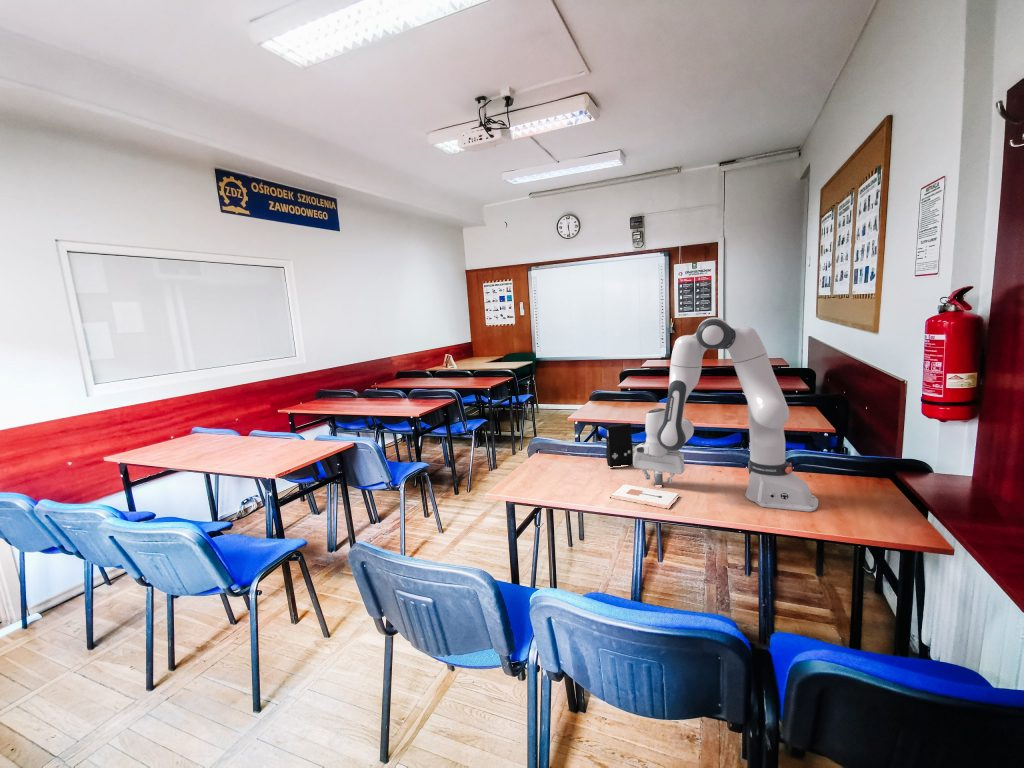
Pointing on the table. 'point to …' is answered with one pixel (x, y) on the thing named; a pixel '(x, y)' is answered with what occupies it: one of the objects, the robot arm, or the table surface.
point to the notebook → (645, 494)
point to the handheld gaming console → (619, 445)
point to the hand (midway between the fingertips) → (658, 480)
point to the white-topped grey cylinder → (658, 477)
